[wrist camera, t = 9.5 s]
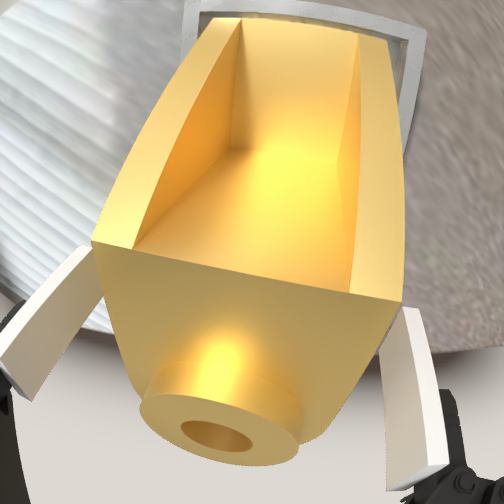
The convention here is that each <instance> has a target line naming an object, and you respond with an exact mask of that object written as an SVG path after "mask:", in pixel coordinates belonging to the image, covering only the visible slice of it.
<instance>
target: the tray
mask: <svg viewBox="0 0 504 504" xmlns="http://www.w3.org/2000/svg"><path fill="white" fill-rule="evenodd" d="M213 18H248V19H264V20H276V21H286V22H295V23H303V24H310V25H317V26H323V27H329V28H334V29H340V30H345V31H350V32H354V33H359V34H363V35H367V36H372V37H376V38H379V39H383V40H387V45H388V50H389V55H390V60H391V66H392V72H393V78H394V84H395V90H396V97H397V105H398V113H399V122H400V131H401V142H402V155H404V151H405V147H406V143H407V138H408V134H409V130H410V125H411V121H412V116H413V112H414V107H415V102H416V97H417V92H418V86H419V81H420V75H421V69H422V63H423V56H424V49H425V42H426V34H427V30H424V29H421V28H418V27H415V26H412V25H409V24H406V23H403V22H399V21H396V20H392V19H389V18H385V17H381V16H378V15H374V14H370V13H365V12H361V11H357V10H352V9H347V8H342V7H337V6H331V5H325V4H319V3H312V2H305V1H297V0H185V7H184V17H183V28H182V40H181V53H180V65H181V63H182V62H183V60H184V59H185V57H186V56H187V54H188V53H189V51H190V50H191V49H192V47H193V46H194V44H195V43H196V41H197V40H198V39H199V37H200V36H201V34H202V33H203V32H204V30H205V29H206V27H207V26H208V25H209V23H210V22H211V21H212V19H213Z"/></svg>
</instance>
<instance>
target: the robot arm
mask: <svg viewBox="0 0 504 504" xmlns="http://www.w3.org/2000/svg"><path fill="white" fill-rule="evenodd" d="M102 297H103V292H102V288H101V284H100V280H99V276H98V271H97V267H96V263H95V258H94V254H93V249H92V248H91V247H87V246H82V245H80V246H79V247H78V248H77V249H76V250H75V251H74V252H73V253H72V254H71V255H70V256H69V257H68V258H67V259H66V260H65V261H64V262H63V263H62V264H61V265H60V266H59V267H58V268H57V269H56V270H55V271H54V272H53V273H52V274H51V275H50V276H49V277H48V279H47V280H46V281H45V282H44V283H43V284H42V285H41V286H40V287H39V288H38V289H37V291H36V292H35V293H34V294H33V295H32V296H31V297H30V298H29V300H28V301H27V300H23V301H21V302H20V303H18V304H17V305H15V306H14V307H13V309H12V310H11V311H10V312H9V313H8V314H7V317H5V318H4V319H3V320H2V323H0V504H31V503H30V499H29V495H28V492H27V487H26V484H25V479H24V474H23V470H22V465H21V460H20V455H19V449H18V443H17V436H16V429H15V421H14V412H13V401H12V394H11V391H10V389H11V387H12V386H13V388H14V389H15V390H16V391H17V392H18V394H19V395H21V396H23V397H24V398H26V399H28V400H29V401H31V402H32V400H33V399H34V397H35V395H36V394H37V392H38V391H39V389H40V387H41V386H42V384H43V383H44V381H45V379H46V378H47V376H48V375H49V373H50V372H51V370H52V369H53V367H54V365H55V364H56V362H57V361H58V359H59V358H60V356H61V355H62V353H63V352H64V350H65V349H66V348H67V346H68V345H69V343H70V342H71V340H72V339H73V337H74V336H75V334H76V333H77V332H78V330H79V329H80V327H81V326H82V324H83V323H84V322H85V320H86V319H87V317H88V316H89V315H90V313H91V312H92V311H93V309H94V308H95V306H96V305H97V304H98V302H99V301H100V300H101V298H102ZM379 357H380V367H381V377H382V387H383V388H382V389H383V401H384V416H385V438H386V491H404V490H407V489H409V488H411V487H412V486H414V493H412V494H410V495H408V496H406V497H404V498H403V499H402V500H401V501H400V502H401V503H402V502H404V501H406V502H405V503H404V504H504V477H501V478H500V479H498V480H496V481H493V480H488V479H484V478H479V477H477V476H476V473H475V472H474V471H473V470H472V469H471V468H469V467H468V466H467V464H466V459H465V451H464V444H463V438H462V432H461V426H460V421H459V416H458V410H457V405H456V401H455V399H454V397H453V396H452V394H451V392H450V390H449V389H438V385H437V381H436V376H435V372H434V366H433V362H432V358H431V354H430V349H429V345H428V341H427V337H426V334H425V330H424V326H423V323H422V319H421V315H420V312H419V309H415V308H409V307H402V308H401V310H400V312H399V314H398V316H397V318H396V320H395V322H394V324H393V326H392V327H391V329H390V331H389V333H388V335H387V337H386V339H385V340H384V342H383V344H382V346H381V347H380V349H379Z"/></svg>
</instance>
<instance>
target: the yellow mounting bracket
mask: <svg viewBox="0 0 504 504" xmlns="http://www.w3.org/2000/svg"><path fill="white" fill-rule="evenodd" d="M91 244H92V249H93V254H94V258H95V263H96V267H97V271H98V276H99V280H100V284H101V288H102V292H103V296H104V299H105V303H106V307H107V310H108V314H109V317H110V321H111V324H112V328H113V331H114V334H115V337H116V340H117V344H118V346H119V350H120V353H121V356H122V359H123V362H124V364H125V367H126V370H127V373H128V376H129V379H130V381H131V383H132V385H133V387H134V389H135V391H136V392H137V394H138V395H139V396H140V397H141V398H142V402H141V404H140V413H141V416H142V418H143V419H144V421H145V422H146V423H147V424H148V426H149V427H150V428H151V429H152V430H153V431H155V432H156V433H157V434H158V435H160V436H161V437H162V438H164V439H166V440H167V441H169V442H170V443H172V444H174V445H176V446H178V447H180V448H182V449H184V450H186V451H188V452H191V453H193V454H196V455H198V456H201V457H204V458H207V459H211V460H215V461H218V462H223V463H228V464H234V465H242V466H243V465H244V466H269V465H275V464H280V463H283V462H286V461H288V460H290V459H292V458H293V457H294V456H295V455H296V454H297V452H298V449H299V445H300V444H304V443H306V442H309V441H311V440H313V439H315V438H317V437H318V436H319V435H321V434H322V433H323V432H324V431H325V430H326V429H327V428H328V427H329V425H330V424H331V422H332V421H333V419H334V418H335V416H336V415H337V413H338V412H339V410H340V409H341V407H342V406H343V404H344V403H345V401H346V400H347V398H348V397H349V395H350V394H351V392H352V390H353V389H354V387H355V386H356V384H357V382H358V381H359V379H360V377H361V376H362V374H363V372H364V371H365V369H366V367H367V366H368V364H369V362H370V360H371V359H372V357H373V355H374V354H375V352H376V350H377V348H378V346H379V345H380V343H381V341H382V339H383V337H384V335H385V334H386V332H387V330H388V328H389V326H390V324H391V322H392V320H393V318H394V316H395V314H396V312H397V310H398V308H399V306H400V304H401V302H402V290H403V274H404V249H405V194H404V171H403V155H402V142H401V131H400V122H399V113H398V105H397V97H396V90H395V84H394V78H393V72H392V66H391V60H390V55H389V50H388V45H387V40H383V39H379V38H376V37H372V36H367V35H363V34H359V33H354V32H350V31H345V30H340V29H334V28H329V27H323V26H317V25H310V24H303V23H295V22H286V21H276V20H264V19H248V18H213V19H212V21H211V22H210V23H209V25H208V26H207V27H206V29H205V30H204V32H203V33H202V34H201V36H200V37H199V39H198V40H197V41H196V43H195V44H194V46H193V47H192V49H191V50H190V51H189V53H188V54H187V56H186V57H185V59H184V60H183V62H182V63H181V65H180V66H179V68H178V69H177V71H176V73H175V74H174V76H173V77H172V79H171V80H170V82H169V84H168V85H167V87H166V88H165V90H164V92H163V93H162V95H161V97H160V98H159V100H158V102H157V103H156V105H155V107H154V109H153V110H152V112H151V114H150V116H149V117H148V119H147V121H146V123H145V125H144V126H143V128H142V130H141V132H140V134H139V136H138V138H137V139H136V141H135V143H134V145H133V147H132V149H131V151H130V153H129V155H128V157H127V159H126V161H125V163H124V165H123V167H122V169H121V171H120V173H119V175H118V177H117V180H116V182H115V184H114V186H113V188H112V190H111V193H110V195H109V197H108V199H107V202H106V204H105V206H104V209H103V211H102V213H101V216H100V218H99V220H98V223H97V225H96V228H95V230H94V233H93V235H92V238H91Z"/></svg>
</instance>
